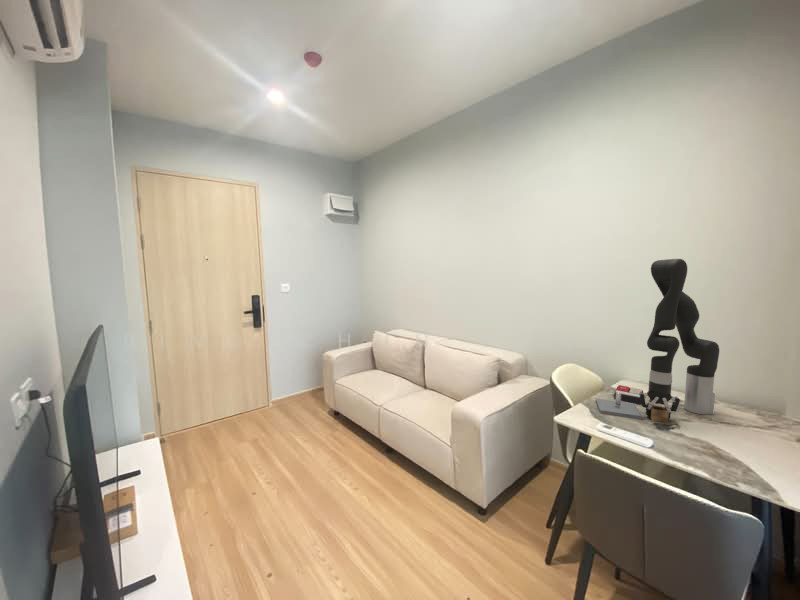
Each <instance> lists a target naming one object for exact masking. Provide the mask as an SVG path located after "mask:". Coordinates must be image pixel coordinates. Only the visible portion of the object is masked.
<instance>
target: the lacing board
mask: <svg viewBox="0 0 800 600" xmlns="http://www.w3.org/2000/svg"><path fill="white" fill-rule="evenodd" d="M596 403H597V404H596ZM615 403H616V400H611V399H609V400H608V399H605V398H604V399H603V398H595V404H596V407H597V409H598V411H599V412H598V413H599V414H603V415H609V416H616V417H623V418H630V419H635V420H636V419H637V420H643V419H644V416H643V414H642V412H641V411H640V409H639V408H638V406H637V404H634V403H629V402H625V401H621V405H620V406H618V405H615Z"/></svg>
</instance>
